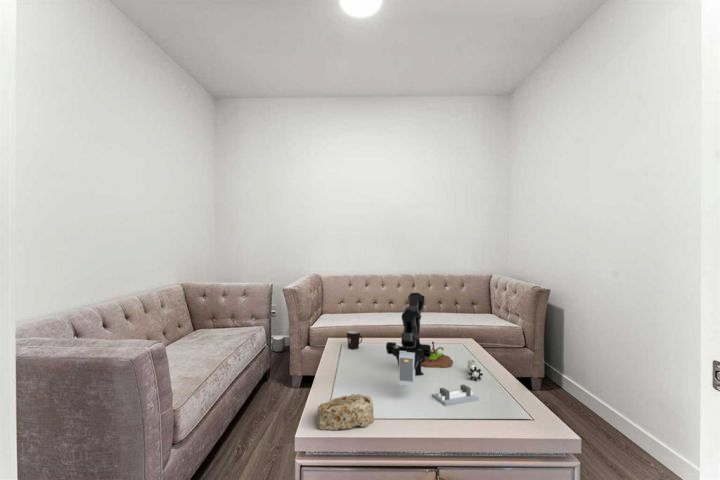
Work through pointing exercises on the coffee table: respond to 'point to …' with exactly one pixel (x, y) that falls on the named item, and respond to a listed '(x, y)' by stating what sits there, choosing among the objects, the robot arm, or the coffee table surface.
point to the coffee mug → (353, 339)
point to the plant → (437, 359)
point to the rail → (455, 396)
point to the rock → (346, 412)
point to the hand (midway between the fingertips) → (406, 368)
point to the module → (406, 368)
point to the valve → (473, 370)
